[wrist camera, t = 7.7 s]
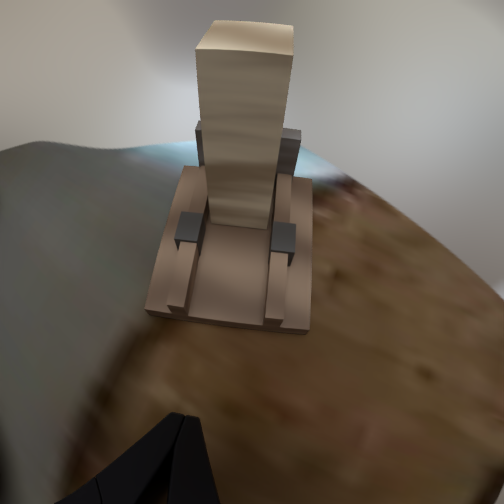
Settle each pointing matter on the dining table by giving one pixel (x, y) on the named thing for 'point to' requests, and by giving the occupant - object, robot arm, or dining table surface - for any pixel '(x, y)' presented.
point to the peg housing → (237, 255)
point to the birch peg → (242, 116)
